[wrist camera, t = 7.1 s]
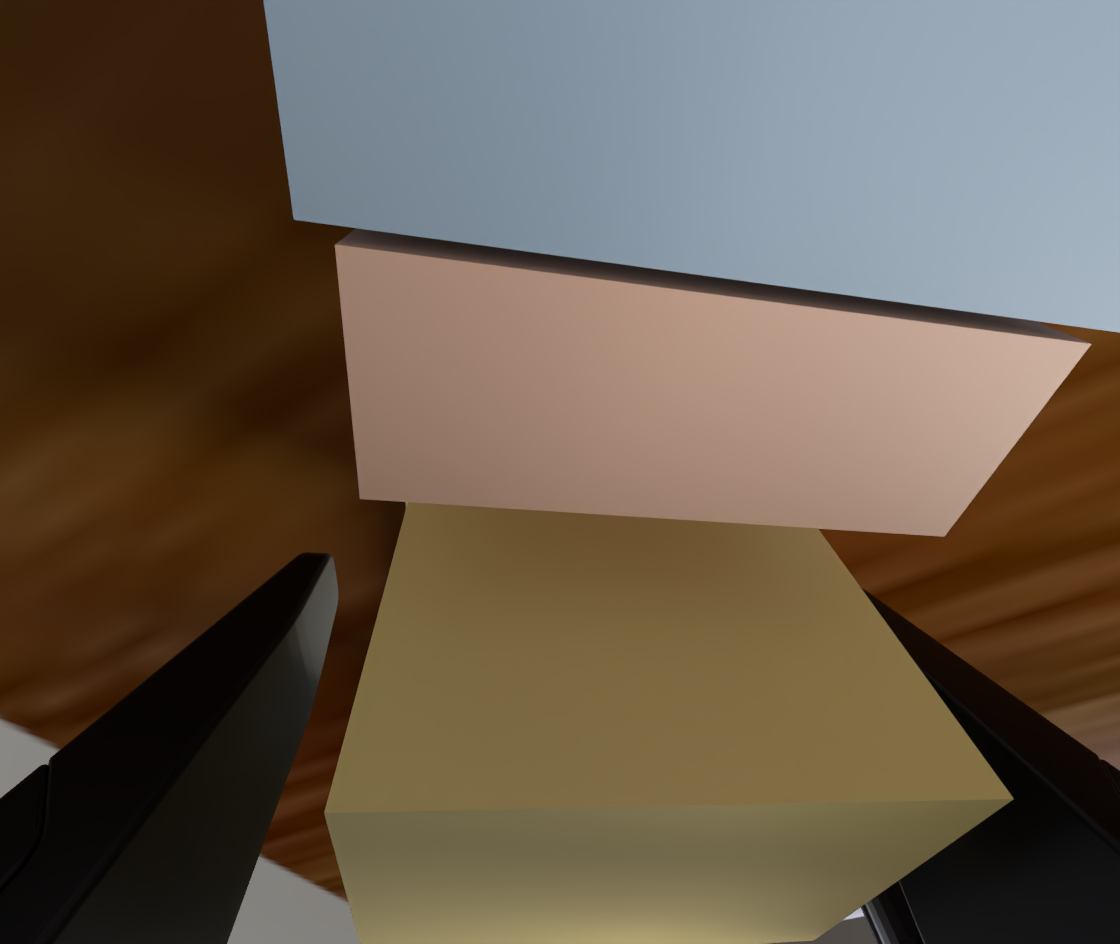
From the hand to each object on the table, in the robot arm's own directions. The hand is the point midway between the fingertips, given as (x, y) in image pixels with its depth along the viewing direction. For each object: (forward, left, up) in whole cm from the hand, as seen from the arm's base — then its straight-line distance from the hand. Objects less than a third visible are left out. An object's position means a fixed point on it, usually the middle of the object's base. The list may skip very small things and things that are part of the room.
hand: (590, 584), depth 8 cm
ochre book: (0, 0, -3) cm, 3 cm away
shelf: (-1, -1, -4) cm, 5 cm away
